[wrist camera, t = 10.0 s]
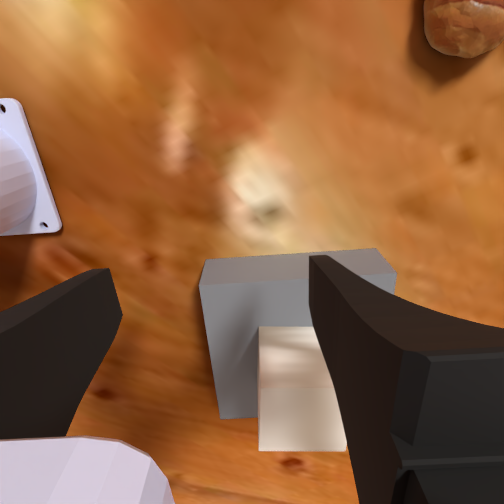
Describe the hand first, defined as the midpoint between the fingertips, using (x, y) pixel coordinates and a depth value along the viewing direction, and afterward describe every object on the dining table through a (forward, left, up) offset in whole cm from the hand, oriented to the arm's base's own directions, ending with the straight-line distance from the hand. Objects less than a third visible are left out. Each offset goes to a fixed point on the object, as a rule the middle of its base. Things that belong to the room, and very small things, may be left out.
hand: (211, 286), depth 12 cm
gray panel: (+4, -10, -11) cm, 15 cm away
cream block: (+4, -10, -7) cm, 13 cm away
